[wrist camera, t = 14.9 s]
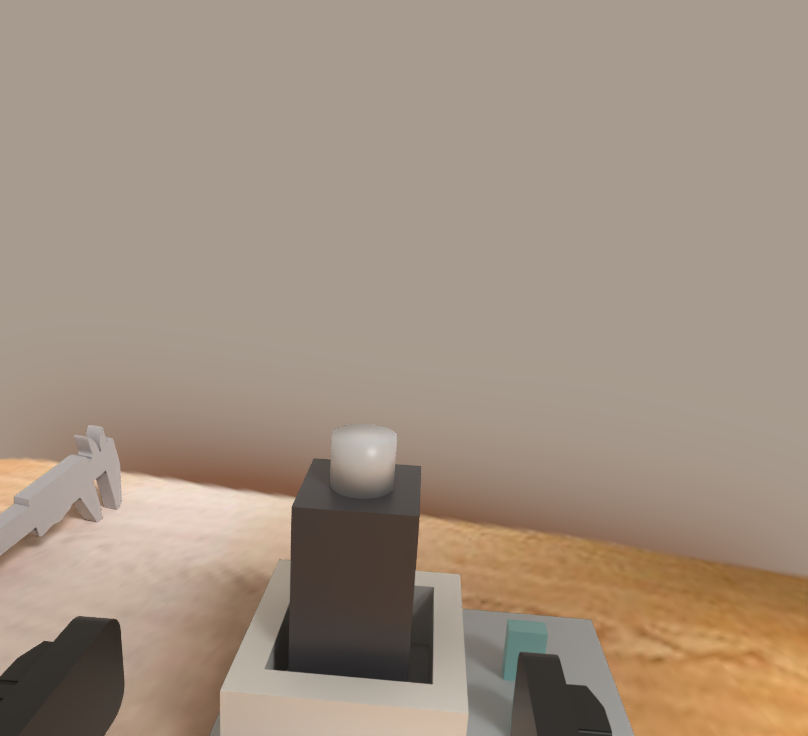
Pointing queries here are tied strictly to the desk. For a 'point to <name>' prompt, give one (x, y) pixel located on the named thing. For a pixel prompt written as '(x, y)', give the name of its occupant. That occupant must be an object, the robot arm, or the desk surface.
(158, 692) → the desk surface
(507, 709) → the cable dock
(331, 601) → the cable plug
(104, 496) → the caliper
